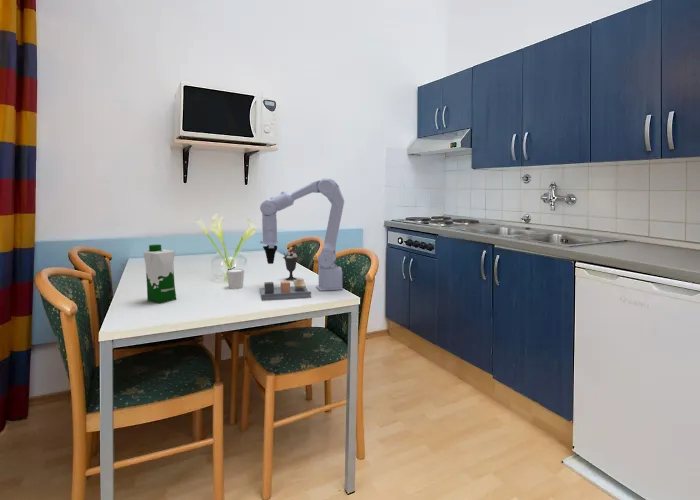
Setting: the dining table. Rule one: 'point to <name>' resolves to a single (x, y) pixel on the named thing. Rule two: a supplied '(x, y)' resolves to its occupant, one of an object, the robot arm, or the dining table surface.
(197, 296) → the dining table surface
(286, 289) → the terracotta knob
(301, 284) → the block
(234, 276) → the grey tapered cup
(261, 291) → the panel
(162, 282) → the milk carton
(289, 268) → the sundae
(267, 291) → the black knob
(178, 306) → the dining table surface
